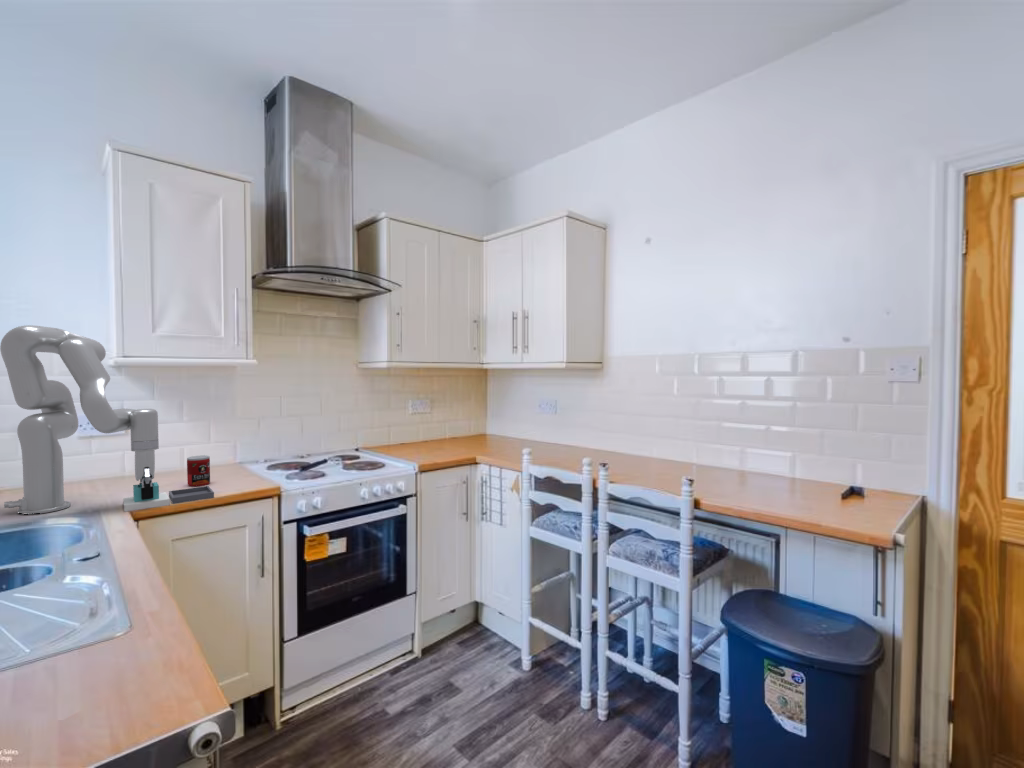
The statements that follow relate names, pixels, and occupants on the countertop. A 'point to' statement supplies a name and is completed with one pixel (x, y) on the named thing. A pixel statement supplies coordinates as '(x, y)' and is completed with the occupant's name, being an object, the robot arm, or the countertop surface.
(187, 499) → the tray
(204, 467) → the canned food
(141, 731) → the countertop surface
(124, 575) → the countertop surface
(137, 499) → the teal notched block
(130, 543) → the countertop surface
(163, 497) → the stake block
